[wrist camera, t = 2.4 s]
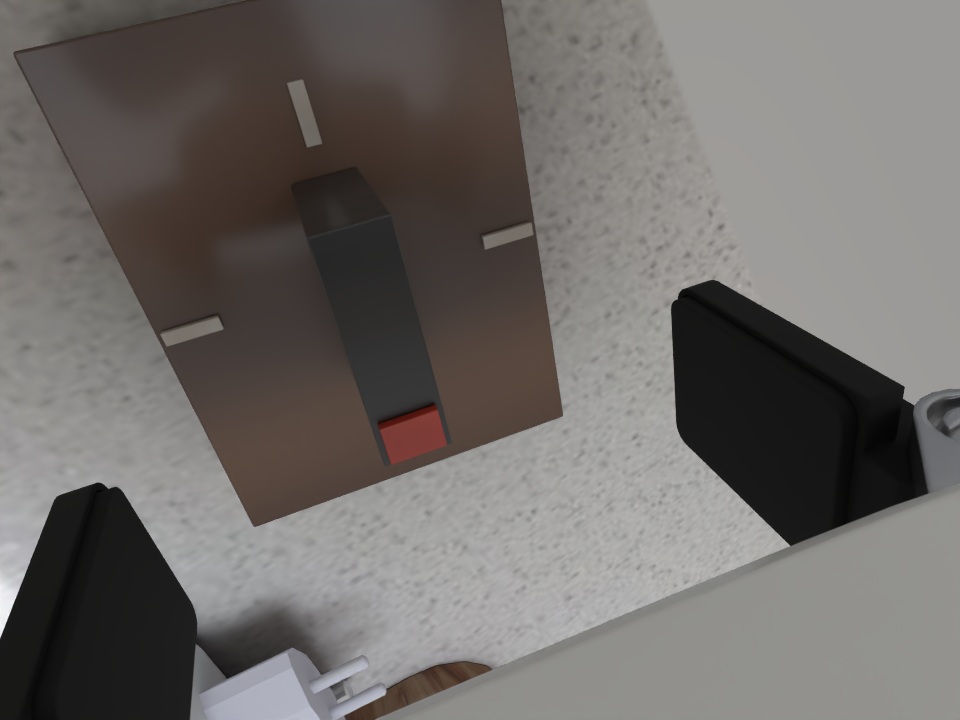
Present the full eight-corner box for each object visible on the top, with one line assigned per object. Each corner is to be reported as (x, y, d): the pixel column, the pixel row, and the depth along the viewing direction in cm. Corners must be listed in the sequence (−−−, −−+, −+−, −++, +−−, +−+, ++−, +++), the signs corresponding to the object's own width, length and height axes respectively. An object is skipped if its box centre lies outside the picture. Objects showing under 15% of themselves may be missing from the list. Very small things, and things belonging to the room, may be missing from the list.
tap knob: (290, 184, 15) (306, 241, 12) (356, 166, 16) (394, 216, 12) (356, 378, 18) (387, 474, 15) (411, 360, 19) (455, 450, 15)
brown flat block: (47, 44, 15) (8, 52, 13) (455, -46, 17) (496, -54, 14) (251, 468, 22) (253, 531, 19) (529, 372, 24) (566, 419, 21)
